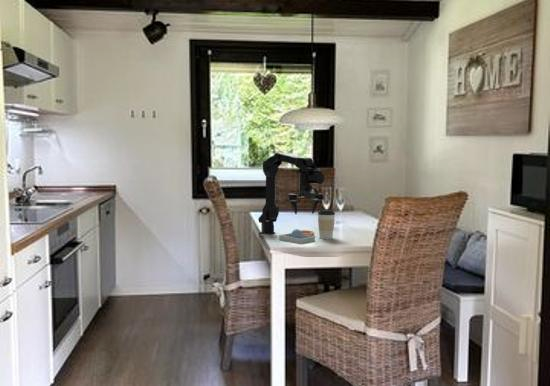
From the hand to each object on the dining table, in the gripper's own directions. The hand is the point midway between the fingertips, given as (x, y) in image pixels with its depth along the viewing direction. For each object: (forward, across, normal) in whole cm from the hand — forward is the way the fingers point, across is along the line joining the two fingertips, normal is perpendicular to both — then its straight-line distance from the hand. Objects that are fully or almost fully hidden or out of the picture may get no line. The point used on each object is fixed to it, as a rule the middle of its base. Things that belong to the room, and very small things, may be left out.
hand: (304, 213), depth 267 cm
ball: (+14, -3, +2) cm, 14 cm away
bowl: (+14, +6, +12) cm, 19 cm away
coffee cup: (+14, +14, +3) cm, 20 cm away
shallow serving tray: (+14, -3, +2) cm, 14 cm away
